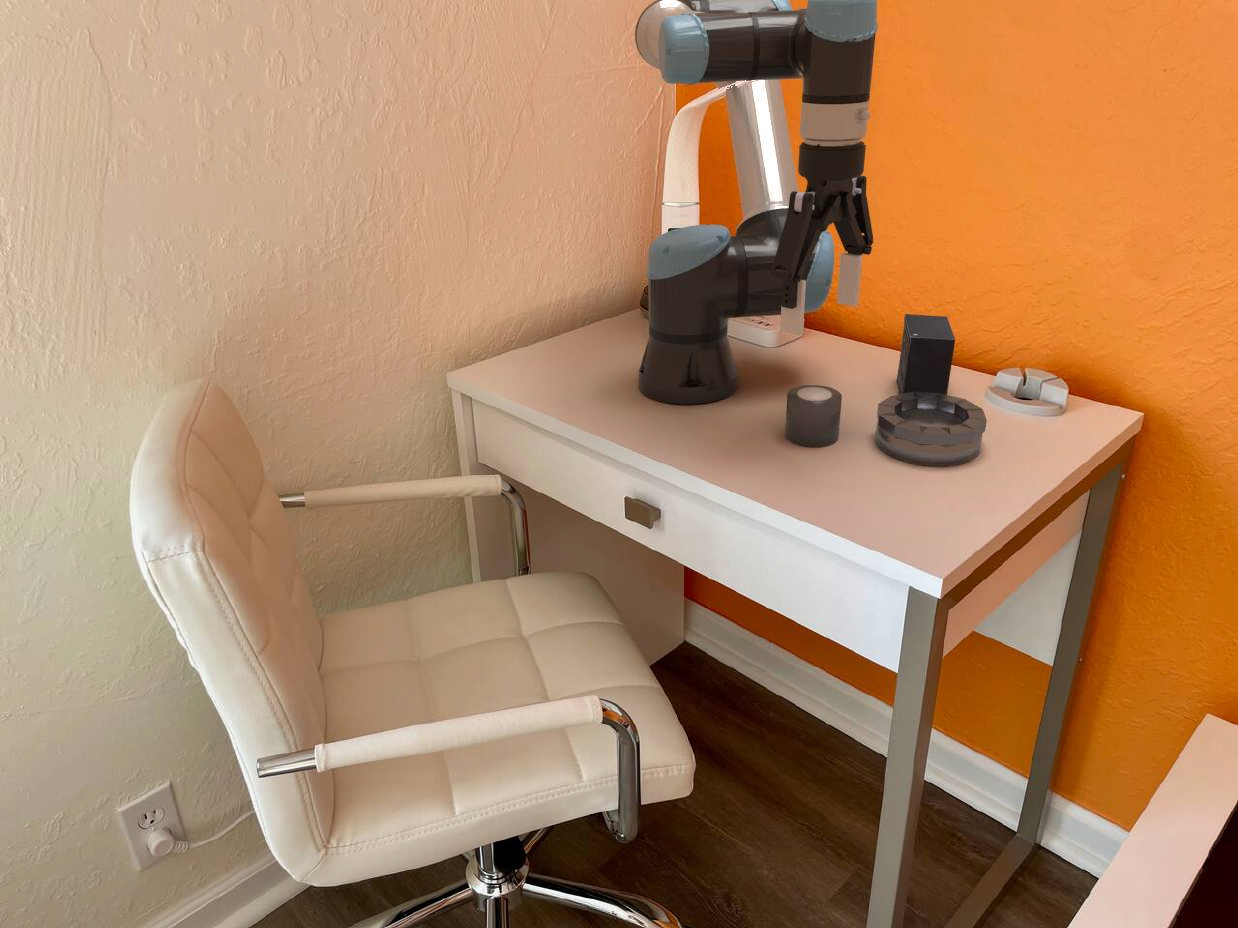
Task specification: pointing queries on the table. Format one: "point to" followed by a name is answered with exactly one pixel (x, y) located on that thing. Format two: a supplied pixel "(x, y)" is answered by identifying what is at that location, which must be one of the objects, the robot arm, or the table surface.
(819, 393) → the cap
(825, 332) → the table surface
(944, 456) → the faceted ashtray
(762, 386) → the table surface
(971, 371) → the table surface
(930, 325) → the small box
